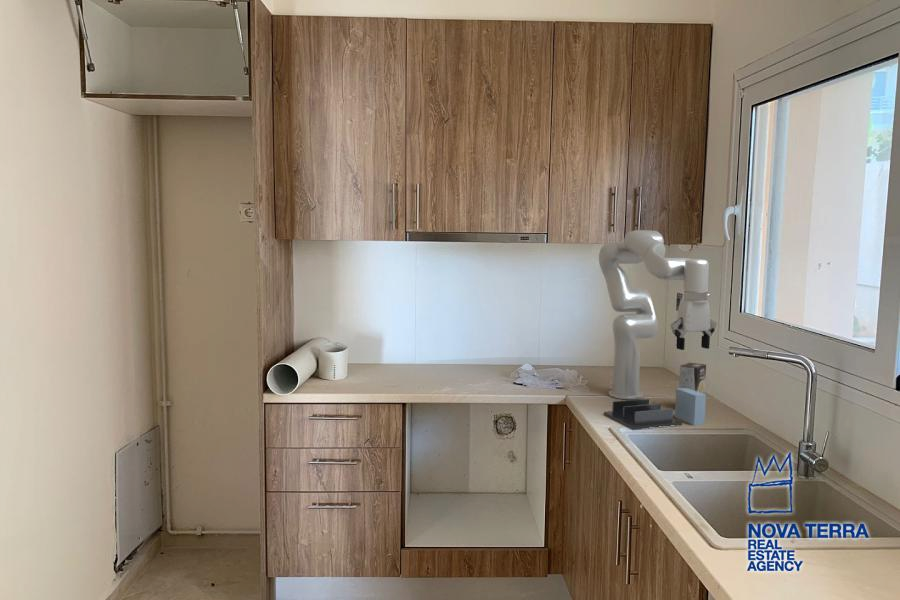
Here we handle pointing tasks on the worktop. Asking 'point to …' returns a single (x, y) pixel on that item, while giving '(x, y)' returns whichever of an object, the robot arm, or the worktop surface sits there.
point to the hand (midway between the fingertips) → (692, 348)
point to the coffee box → (693, 377)
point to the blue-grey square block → (690, 406)
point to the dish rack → (641, 414)
